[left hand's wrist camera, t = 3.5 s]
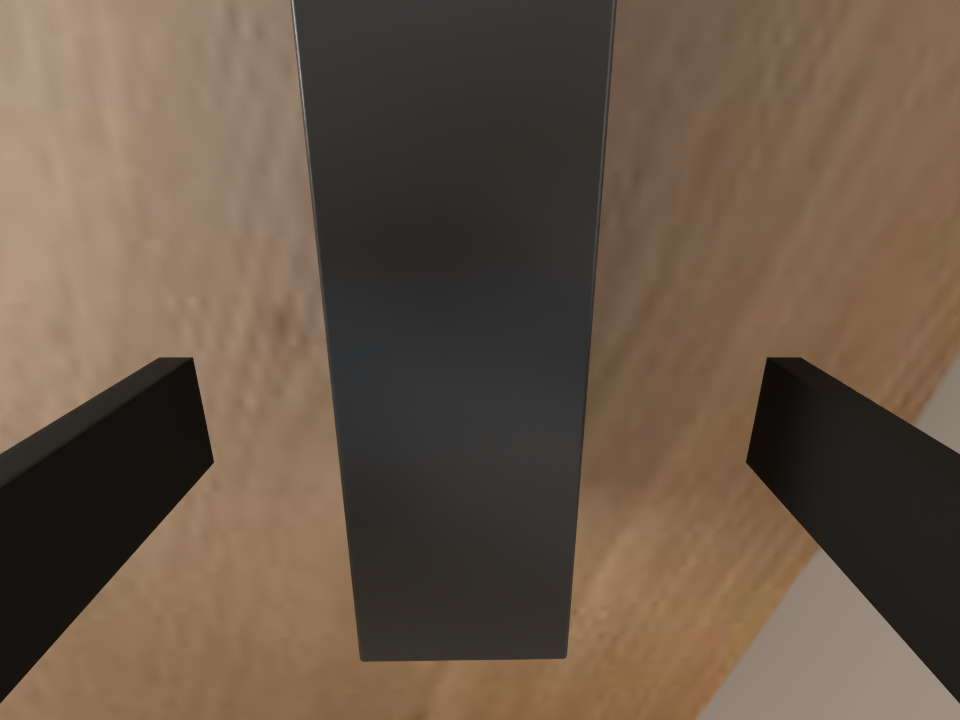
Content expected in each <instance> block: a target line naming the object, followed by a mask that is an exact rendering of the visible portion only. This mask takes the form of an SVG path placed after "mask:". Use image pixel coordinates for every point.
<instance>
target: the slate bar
mask: <svg viewBox="0 0 960 720" xmlns="http://www.w3.org/2000/svg"><path fill="white" fill-rule="evenodd" d="M616 5H617V0H291V10H292V19H293V29H294V38H295V47H296V57H297V66H298V76H299V85H300V95H301V104H302V114H303V123H304V133H305V142H306V152H307V161H308V170H309V180H310V189H311V199H312V208H313V218H314V227H315V237H316V246H317V256H318V265H319V275H320V284H321V293H322V303H323V312H324V322H325V331H326V341H327V350H328V360H329V369H330V379H331V388H332V398H333V407H334V416H335V426H336V435H337V445H338V454H339V464H340V473H341V483H342V492H343V502H344V511H345V521H346V530H347V539H348V549H349V558H350V568H351V577H352V587H353V596H354V606H355V615H356V625H357V634H358V644H359V653H360V659H361V661H363V662H370V661H441V660H512V659H564V658H566V656H567V647H568V634H569V621H570V608H571V594H572V581H573V568H574V555H575V542H576V529H577V516H578V503H579V490H580V477H581V463H582V450H583V437H584V424H585V411H586V398H587V385H588V372H589V359H590V345H591V332H592V319H593V306H594V293H595V280H596V267H597V254H598V241H599V228H600V214H601V201H602V188H603V175H604V162H605V149H606V136H607V123H608V110H609V96H610V83H611V70H612V57H613V44H614V31H615V18H616Z"/></svg>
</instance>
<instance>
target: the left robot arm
mask: <svg viewBox="0 0 960 720" xmlns="http://www.w3.org/2000/svg"><path fill="white" fill-rule="evenodd" d="M213 463H214V460H213V455H212V450H211V445H210V440H209V435H208V430H207V425H206V420H205V415H204V410H203V405H202V400H201V395H200V390H199V385H198V380H197V375H196V370H195V366H194V361H193V358H158V359H156V360H154V361H153V362H151V363H150V364H148V365H146V366H145V367H143V368H141V369H140V370H138V371H136V372H135V373H133V374H131V375H130V376H128V377H127V378H125V379H123V380H122V381H120V382H118V383H117V384H115V385H113V386H112V387H110V388H108V389H107V390H105V391H103V392H102V393H100V394H99V395H97V396H95V397H94V398H92V399H90V400H89V401H87V402H85V403H84V404H82V405H80V406H79V407H77V408H76V409H74V410H72V411H71V412H69V413H67V414H66V415H64V416H62V417H61V418H59V419H57V420H56V421H54V422H53V423H51V424H49V425H48V426H46V427H44V428H43V429H41V430H39V431H38V432H36V433H34V434H33V435H31V436H30V437H28V438H26V439H25V440H23V441H21V442H20V443H18V444H16V445H15V446H13V447H11V448H10V449H8V450H6V451H5V452H3V453H2V454H0V703H1V702H2V701H3V700H4V699H5V698H6V696H7V695H8V694H9V693H10V692H11V691H12V690H13V689H14V687H15V686H16V685H17V684H18V683H19V682H20V681H21V679H22V678H23V677H24V676H25V675H26V674H27V673H28V672H29V670H30V669H31V668H32V667H33V666H34V665H35V664H36V663H37V661H38V660H39V659H40V658H41V657H42V656H43V655H44V654H45V652H46V651H47V650H48V649H49V648H50V647H51V646H52V645H53V643H54V642H55V641H56V640H57V639H58V638H59V637H60V636H61V634H62V633H63V632H64V631H65V630H66V629H67V628H68V626H69V625H70V624H71V623H72V622H73V621H74V620H75V619H76V617H77V616H78V615H79V614H80V613H81V612H82V611H83V610H84V608H85V607H86V606H87V605H88V604H89V603H90V602H91V601H92V599H93V598H94V597H95V596H96V595H97V594H98V593H99V592H100V590H101V589H102V588H103V587H104V586H105V585H106V584H107V583H108V581H109V580H110V579H111V578H112V577H113V576H114V575H115V573H116V572H117V571H118V570H119V569H120V568H121V567H122V566H123V564H124V563H125V562H126V561H127V560H128V559H129V558H130V557H131V555H132V554H133V553H134V552H135V551H136V550H137V549H138V548H139V546H140V545H141V544H142V543H143V542H144V541H145V540H146V539H147V537H148V536H149V535H150V534H151V533H152V532H153V531H154V530H155V528H156V527H157V526H158V525H159V524H160V523H161V522H162V521H163V519H164V518H165V517H166V516H167V515H168V514H169V513H170V511H171V510H172V509H173V508H174V507H175V506H176V505H177V504H178V502H179V501H180V500H181V499H182V498H183V497H184V496H185V495H186V493H187V492H188V491H189V490H190V489H191V488H192V487H193V486H194V484H195V483H196V482H197V481H198V480H199V479H200V478H201V477H202V475H203V474H204V473H205V472H206V471H207V470H208V469H209V468H210V466H211V465H212V464H213ZM746 463H747V464H748V465H749V466H750V468H751V469H752V470H753V471H754V472H755V473H756V474H757V475H758V477H759V478H760V479H761V480H762V481H763V482H764V483H765V484H766V486H767V487H768V488H769V489H770V490H771V491H772V492H773V493H774V495H775V496H776V497H777V498H778V499H779V500H780V501H781V502H782V504H783V505H784V506H785V507H786V508H787V509H788V510H789V511H790V513H791V514H792V515H793V516H794V517H795V518H796V519H797V521H798V522H799V523H800V524H801V525H802V526H803V527H804V528H805V530H806V531H807V532H808V533H809V534H810V535H811V536H812V537H813V539H814V540H815V541H816V542H817V543H818V544H819V545H820V546H821V548H822V549H823V550H824V551H825V552H826V553H827V554H828V555H829V557H830V558H831V559H832V560H833V561H834V562H835V563H836V564H837V566H838V567H839V568H840V569H841V570H842V571H843V572H844V573H845V575H846V576H847V577H848V578H849V579H850V580H851V581H852V583H853V584H854V585H855V586H856V587H857V588H858V589H859V590H860V592H861V593H862V594H863V595H864V596H865V597H866V598H867V599H868V601H869V602H870V603H871V604H872V605H873V606H874V607H875V608H876V610H877V611H878V612H879V613H880V614H881V615H882V616H883V617H884V619H885V620H886V621H887V622H888V623H889V624H890V625H891V626H892V628H893V629H894V630H895V631H896V632H897V633H898V634H899V635H900V637H901V638H902V639H903V640H904V641H905V642H906V643H907V644H908V646H909V647H910V648H911V649H912V650H913V651H914V652H915V654H916V655H917V656H918V657H919V658H920V659H921V660H922V661H923V663H924V664H925V665H926V666H927V667H928V668H929V669H930V670H931V672H932V673H933V674H934V675H935V676H936V677H937V678H938V679H939V681H940V682H941V683H942V684H943V685H944V686H945V687H946V689H947V690H948V691H949V692H950V693H951V694H952V695H953V696H954V698H955V699H956V700H957V701H958V702H959V703H960V454H958V453H957V452H955V451H954V450H952V449H950V448H949V447H947V446H945V445H944V444H942V443H940V442H939V441H937V440H935V439H934V438H932V437H930V436H929V435H927V434H926V433H924V432H922V431H921V430H919V429H917V428H916V427H914V426H912V425H911V424H909V423H907V422H906V421H904V420H903V419H901V418H899V417H898V416H896V415H894V414H893V413H891V412H889V411H888V410H886V409H884V408H883V407H881V406H880V405H878V404H876V403H875V402H873V401H871V400H870V399H868V398H866V397H865V396H863V395H861V394H860V393H858V392H857V391H855V390H853V389H852V388H850V387H848V386H847V385H845V384H843V383H842V382H840V381H838V380H837V379H835V378H833V377H832V376H830V375H829V374H827V373H825V372H824V371H822V370H820V369H819V368H817V367H815V366H814V365H812V364H810V363H809V362H807V361H806V360H804V359H802V358H767V361H766V366H765V370H764V375H763V380H762V385H761V390H760V395H759V400H758V405H757V410H756V415H755V420H754V425H753V430H752V435H751V440H750V445H749V450H748V455H747V460H746Z"/></svg>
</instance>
